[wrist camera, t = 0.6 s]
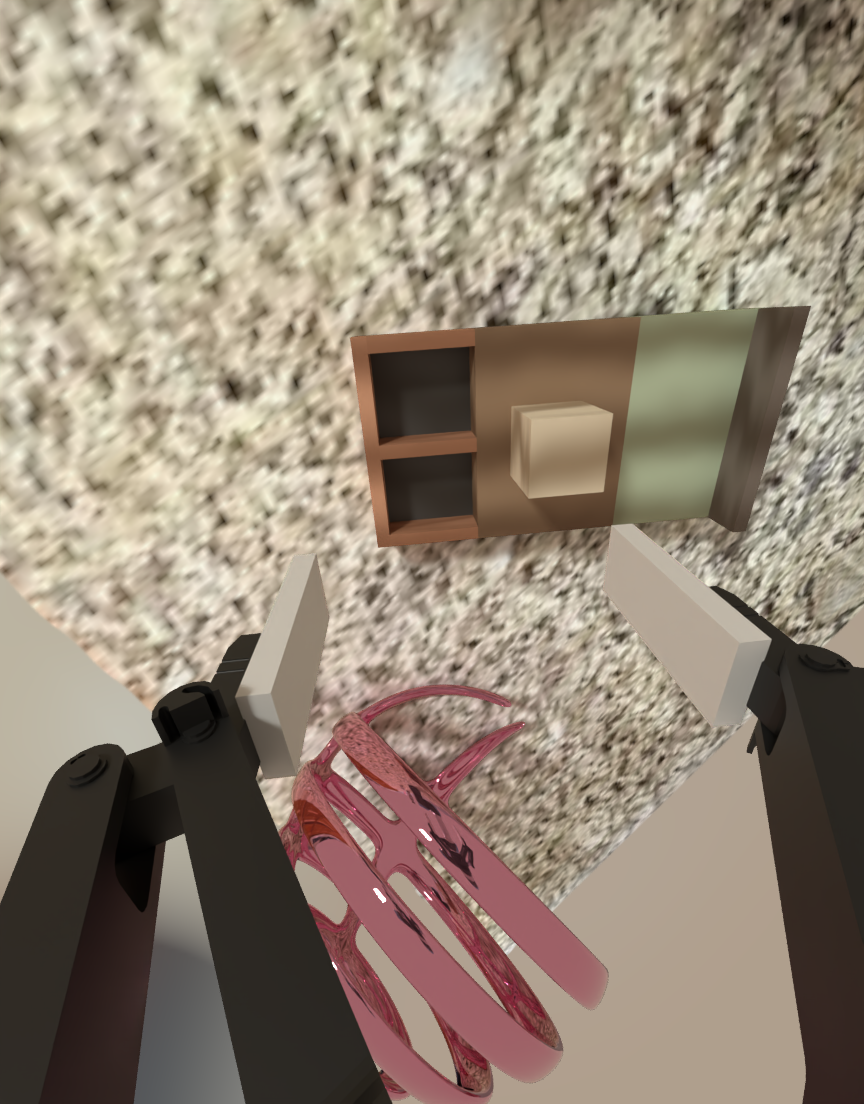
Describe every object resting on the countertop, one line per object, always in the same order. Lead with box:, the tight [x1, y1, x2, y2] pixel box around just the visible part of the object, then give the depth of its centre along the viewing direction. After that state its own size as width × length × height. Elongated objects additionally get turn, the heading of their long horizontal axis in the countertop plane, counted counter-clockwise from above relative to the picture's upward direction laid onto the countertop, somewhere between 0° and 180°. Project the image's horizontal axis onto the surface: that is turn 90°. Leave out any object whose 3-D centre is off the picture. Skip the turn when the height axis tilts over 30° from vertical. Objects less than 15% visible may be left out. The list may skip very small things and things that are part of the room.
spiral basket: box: [278, 685, 609, 1104], centre depth 38 cm, size 28×28×27 cm
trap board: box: [350, 306, 811, 548], centre depth 32 cm, size 15×28×6 cm, turn 94°
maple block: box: [510, 401, 613, 499], centre depth 30 cm, size 5×5×5 cm
